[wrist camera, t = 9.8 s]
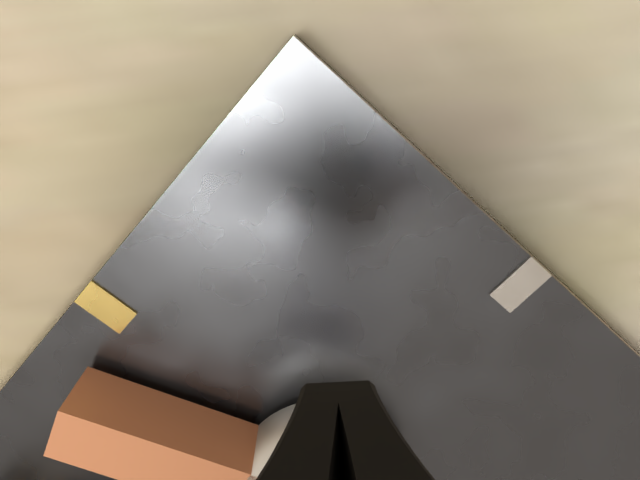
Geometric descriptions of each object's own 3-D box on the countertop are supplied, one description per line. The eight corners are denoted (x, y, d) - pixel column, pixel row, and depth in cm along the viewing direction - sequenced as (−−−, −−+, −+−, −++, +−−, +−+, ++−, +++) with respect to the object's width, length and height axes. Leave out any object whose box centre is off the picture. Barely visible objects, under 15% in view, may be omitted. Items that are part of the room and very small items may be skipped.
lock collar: (435, 433, 21) (449, 483, 18) (364, 550, 23) (369, 609, 20) (104, 315, 19) (75, 354, 17) (59, 452, 21) (27, 505, 19)
